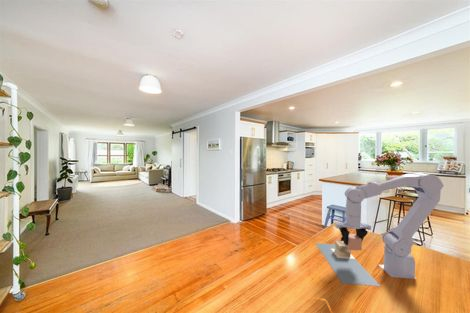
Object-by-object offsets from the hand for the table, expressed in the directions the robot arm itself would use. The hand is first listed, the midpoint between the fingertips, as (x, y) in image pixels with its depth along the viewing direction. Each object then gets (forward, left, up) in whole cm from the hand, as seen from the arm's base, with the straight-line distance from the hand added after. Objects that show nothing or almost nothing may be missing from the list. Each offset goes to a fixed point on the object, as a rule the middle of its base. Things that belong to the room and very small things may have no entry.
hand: (352, 244), depth 82 cm
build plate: (-6, -18, -10) cm, 21 cm away
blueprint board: (+3, -1, -9) cm, 10 cm away
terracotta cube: (0, 0, -1) cm, 1 cm away
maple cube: (0, -7, -9) cm, 11 cm away
